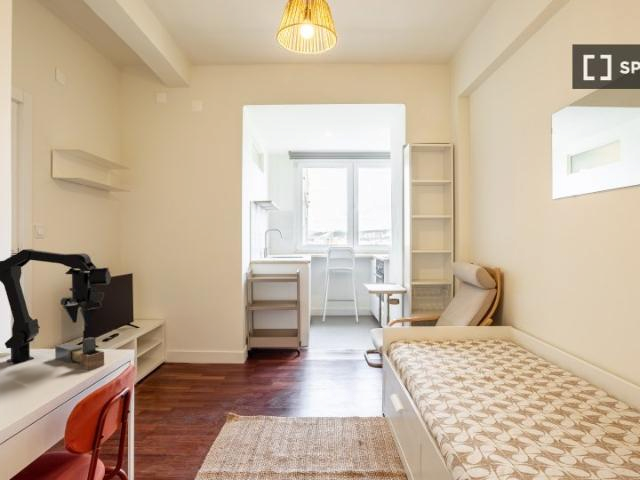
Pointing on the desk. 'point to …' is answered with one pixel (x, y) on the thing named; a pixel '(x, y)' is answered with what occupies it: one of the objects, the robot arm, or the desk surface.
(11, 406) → the desk surface
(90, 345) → the slider
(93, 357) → the socket
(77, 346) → the sleeve
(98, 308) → the robot arm
